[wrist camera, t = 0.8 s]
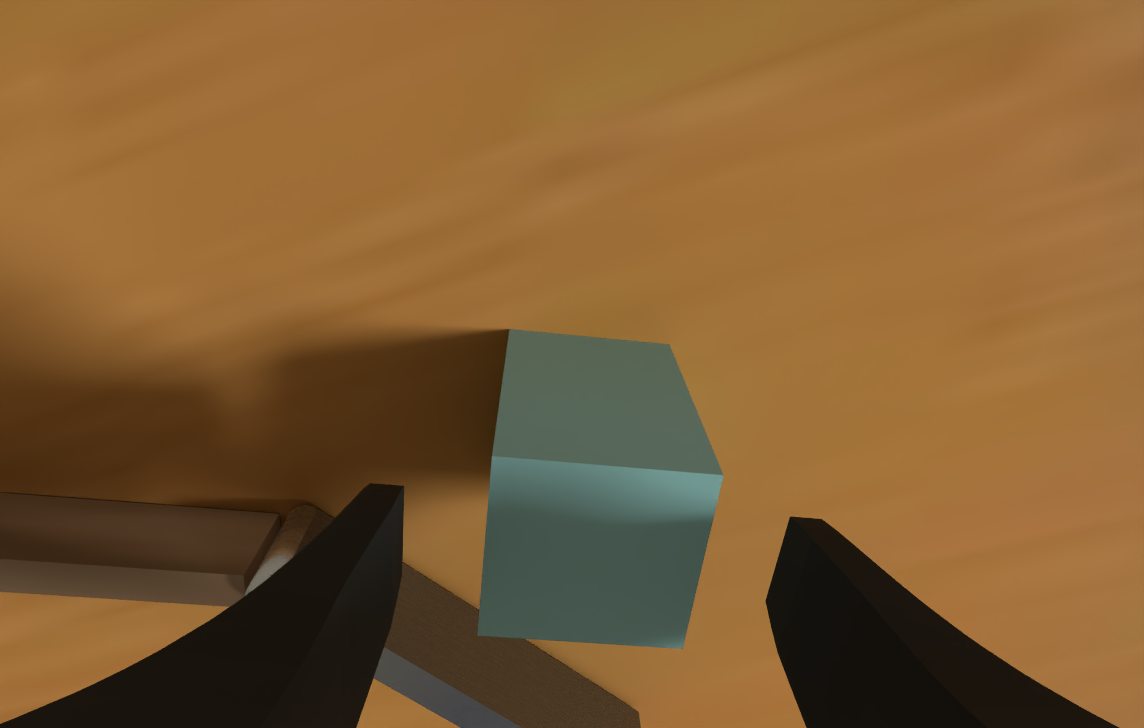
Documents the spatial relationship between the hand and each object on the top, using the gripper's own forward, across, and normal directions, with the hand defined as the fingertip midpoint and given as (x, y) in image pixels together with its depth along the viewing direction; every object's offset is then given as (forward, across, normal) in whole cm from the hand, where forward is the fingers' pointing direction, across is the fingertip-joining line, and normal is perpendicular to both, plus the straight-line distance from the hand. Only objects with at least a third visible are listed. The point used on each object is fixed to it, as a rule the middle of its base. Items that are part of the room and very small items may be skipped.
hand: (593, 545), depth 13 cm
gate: (+6, +7, +4) cm, 10 cm away
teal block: (+6, 0, 0) cm, 6 cm away
